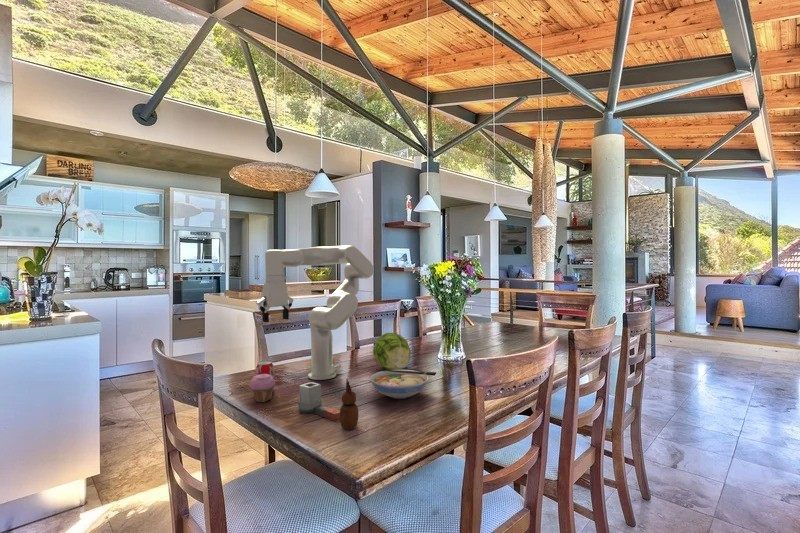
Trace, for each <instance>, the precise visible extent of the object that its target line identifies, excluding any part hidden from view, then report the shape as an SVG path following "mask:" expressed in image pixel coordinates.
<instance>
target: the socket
mask: <svg viewBox="0 0 800 533" xmlns="http://www.w3.org/2000/svg"><path fill="white" fill-rule="evenodd" d="M321 400H322V384H320V383H316V382H314V381H310V382H305V383H304V384H299V401H300V403H303V404H306V405H312V404H315V403H318V402H321Z"/></svg>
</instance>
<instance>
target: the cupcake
mask: <svg viewBox="0 0 800 533" xmlns="http://www.w3.org/2000/svg"><path fill="white" fill-rule="evenodd" d="M275 386H276V380H275V377H274V378H273V377H272V376H270V375H269V374H261V375H256V374H255V375H254V376H252V378H251V380H250V384H249V387H250V389H251V390H252V393H253V397H254V400H255V401H256V402H259V403H266V402H267V401H269V400H271V399H272V398H273V391H272V390H273V387H274V388H275Z"/></svg>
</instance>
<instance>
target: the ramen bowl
mask: <svg viewBox="0 0 800 533" xmlns="http://www.w3.org/2000/svg"><path fill="white" fill-rule="evenodd" d="M375 371H378V372H376V373H374V374H371V376H370V377H369V380H370V382H371V383H372V385H373V386H374V388H375V389H376V391H377V392H378V393H380V394H382V395H384V396H386V397H388V398H389V397H390V398H391V399H393V400H394V399H395V400H396V399H397V400H404V399H408V398H409V397H413V396H415V395H417V394H418V393H420V392H421V391H423V389H424V388H425V387H426V385H427V383H428V380H429V376H436V375H437V372H435V371H434V372H433V371H417V370H411V369H401V370H387V369H377V368H376V369H375Z"/></svg>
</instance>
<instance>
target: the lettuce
mask: <svg viewBox="0 0 800 533" xmlns="http://www.w3.org/2000/svg"><path fill="white" fill-rule="evenodd" d="M411 353H412V350H411V348H410V344H409V343H408V341H407V339H406V338H405V337H403V336H402V335H400V334H397V333H395V332H386V333H383V334H381V335H380V336H379V337H378V338H377V339H376V340H375V343H374V345H373V355H374V358H375V360H376V362H377V363H378V364H379V365H380V366H381V367H382V368H383V369H384V370H404V369H405V368H406V367H407V365H408V364H409V362H410V360H411V355H412V354H411Z"/></svg>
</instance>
